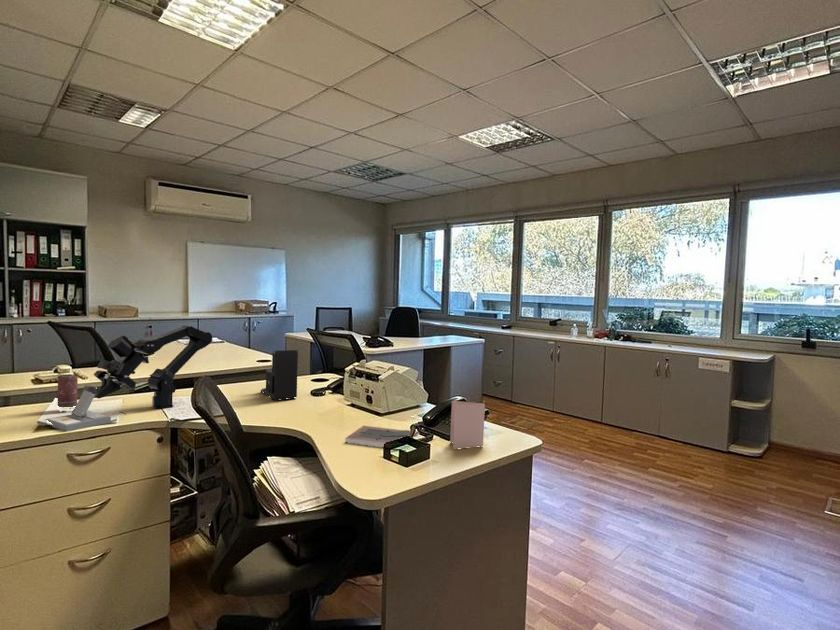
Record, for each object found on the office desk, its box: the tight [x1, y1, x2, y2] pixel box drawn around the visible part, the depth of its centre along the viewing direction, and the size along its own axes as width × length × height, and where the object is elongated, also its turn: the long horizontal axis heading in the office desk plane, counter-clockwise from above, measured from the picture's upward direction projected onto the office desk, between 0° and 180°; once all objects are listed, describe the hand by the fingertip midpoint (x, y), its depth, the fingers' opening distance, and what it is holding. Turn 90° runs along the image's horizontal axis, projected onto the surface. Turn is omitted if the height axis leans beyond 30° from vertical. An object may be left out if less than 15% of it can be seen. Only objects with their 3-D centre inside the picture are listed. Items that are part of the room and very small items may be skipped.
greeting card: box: [449, 400, 486, 450], centre depth 154 cm, size 11×7×15 cm, turn 77°
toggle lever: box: [71, 385, 100, 418], centre depth 164 cm, size 2×6×11 cm, turn 63°
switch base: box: [45, 410, 112, 432], centre depth 163 cm, size 14×14×2 cm
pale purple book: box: [344, 425, 420, 448], centre depth 159 cm, size 16×2×22 cm
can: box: [57, 374, 79, 407], centre depth 178 cm, size 6×6×14 cm
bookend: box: [260, 349, 299, 401], centre depth 220 cm, size 23×11×24 cm, turn 34°
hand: (97, 397), depth 168 cm, fingers closed
